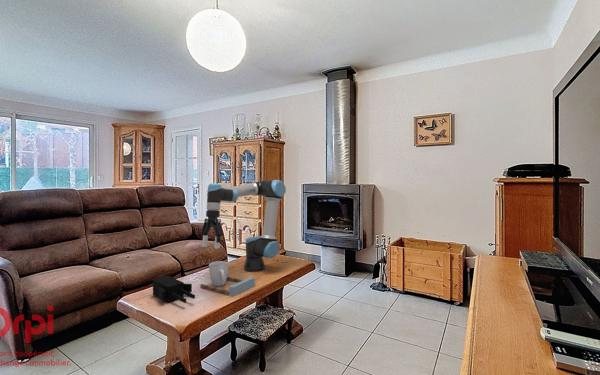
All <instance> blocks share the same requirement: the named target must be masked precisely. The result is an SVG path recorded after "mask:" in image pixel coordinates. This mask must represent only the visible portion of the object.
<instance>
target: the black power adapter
mask: <svg viewBox="0 0 600 375" xmlns="http://www.w3.org/2000/svg"><path fill="white" fill-rule="evenodd" d="M192 284H193V283H187V282H183V281H182V280H179V279H177V278H175V277H172V276H170V275H164V276H161V277H157V278H153V279H152V295H153V296H154V297H156V298H158V299H160V300H161V301H163V302H165V303H167V304H171V303H174V302H176V301H180V302H183V303H184V304H186V303H187V298H186V297H185V296H187V297H189V298H191V299H193V300H194V299H196V295H195V294H194V293H192V289H193V288H192V286H193V285H192Z"/></svg>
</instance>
